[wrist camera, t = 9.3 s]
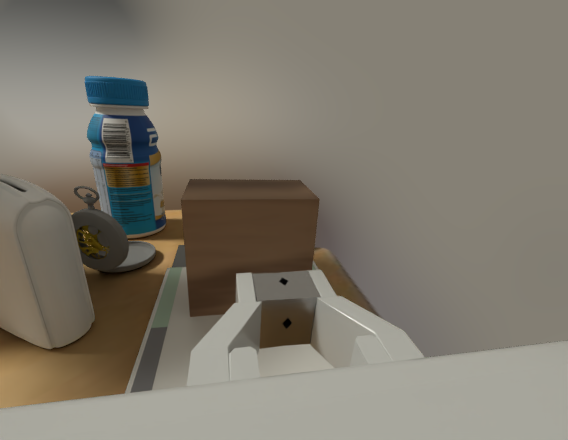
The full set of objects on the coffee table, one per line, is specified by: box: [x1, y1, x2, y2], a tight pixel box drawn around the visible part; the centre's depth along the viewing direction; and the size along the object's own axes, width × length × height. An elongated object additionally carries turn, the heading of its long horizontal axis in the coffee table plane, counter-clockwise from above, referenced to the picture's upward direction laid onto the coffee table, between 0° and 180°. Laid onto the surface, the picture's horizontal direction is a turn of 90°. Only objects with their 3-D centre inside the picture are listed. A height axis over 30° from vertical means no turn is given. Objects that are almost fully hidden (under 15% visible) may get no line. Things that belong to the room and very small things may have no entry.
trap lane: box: [125, 245, 334, 393], centre depth 24 cm, size 34×16×2 cm, turn 11°
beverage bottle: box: [85, 76, 166, 238], centre depth 39 cm, size 8×8×20 cm
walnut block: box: [181, 179, 319, 317], centre depth 25 cm, size 6×10×10 cm, turn 101°
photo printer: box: [0, 174, 95, 349], centre depth 22 cm, size 10×4×12 cm, turn 67°
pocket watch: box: [71, 186, 156, 272], centre depth 31 cm, size 8×8×10 cm
